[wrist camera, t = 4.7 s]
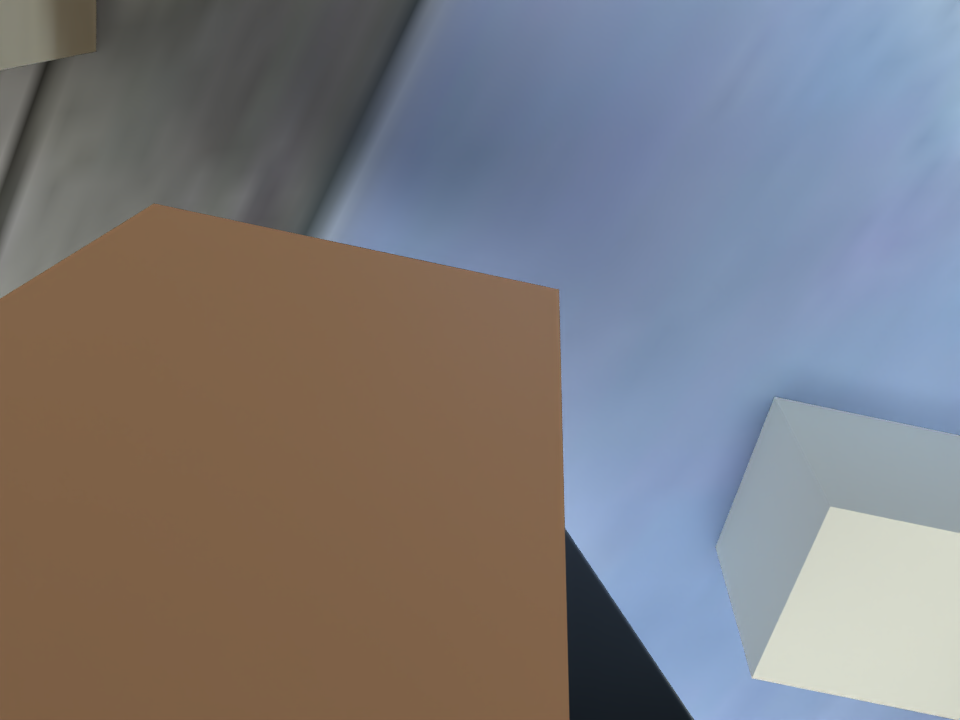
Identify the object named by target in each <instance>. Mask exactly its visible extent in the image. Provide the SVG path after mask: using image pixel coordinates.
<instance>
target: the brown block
mask: <svg viewBox="0 0 960 720" xmlns="http://www.w3.org/2000/svg"><path fill="white" fill-rule="evenodd" d="M0 720H569V683H568V641H567V600H566V559H565V517H564V476H563V435H562V393H561V352H560V311H559V289H554V288H550V287H545V286H540V285H535V284H531V283H526V282H521V281H517V280H512V279H507V278H502V277H498V276H493V275H488V274H484V273H479V272H474V271H469V270H465V269H460V268H455V267H451V266H446V265H441V264H436V263H432V262H427V261H422V260H418V259H413V258H408V257H404V256H399V255H394V254H389V253H385V252H380V251H375V250H371V249H366V248H361V247H356V246H352V245H347V244H342V243H338V242H333V241H328V240H323V239H319V238H314V237H309V236H305V235H300V234H295V233H290V232H286V231H281V230H276V229H272V228H267V227H262V226H257V225H253V224H248V223H243V222H239V221H234V220H229V219H224V218H220V217H215V216H210V215H206V214H201V213H196V212H192V211H187V210H182V209H177V208H173V207H168V206H163V205H159V204H152V205H151V206H149V207H148V208H146V209H144V210H143V211H141V212H140V213H138V214H136V215H135V216H133V217H131V218H130V219H128V220H127V221H125V222H123V223H122V224H120V225H119V226H117V227H115V228H114V229H112V230H110V231H109V232H107V233H106V234H104V235H102V236H101V237H99V238H98V239H96V240H94V241H93V242H91V243H89V244H88V245H86V246H85V247H83V248H81V249H80V250H78V251H77V252H75V253H73V254H72V255H70V256H68V257H67V258H65V259H64V260H62V261H60V262H59V263H57V264H56V265H54V266H52V267H51V268H49V269H47V270H46V271H44V272H43V273H41V274H39V275H38V276H36V277H35V278H33V279H31V280H30V281H28V282H26V283H25V284H23V285H22V286H20V287H18V288H17V289H15V290H14V291H12V292H10V293H9V294H7V295H6V296H4V297H2V298H1V299H0Z"/></svg>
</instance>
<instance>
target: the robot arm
mask: <svg viewBox="0 0 960 720" xmlns="http://www.w3.org/2000/svg"><path fill="white" fill-rule="evenodd" d="M565 559H566V600H567V641H568V683H569V720H694V719H693V718H692V716H691V715H690V713H689V712H688V710H687V709H686V707H685V706H684V704H683V703H682V701H681V700H680V698H679V697H678V695H677V694H676V692H675V691H674V689H673V688H672V687H671V685H670V684H669V682H668V681H667V679H666V678H665V676H664V675H663V673H662V672H661V670H660V669H659V667H658V666H657V664H656V663H655V661H654V660H653V658H652V657H651V655H650V654H649V652H648V651H647V649H646V648H645V646H644V645H643V643H642V642H641V640H640V639H639V637H638V636H637V634H636V633H635V632H634V630H633V629H632V627H631V626H630V624H629V623H628V621H627V620H626V618H625V617H624V615H623V614H622V612H621V611H620V609H619V608H618V606H617V605H616V603H615V602H614V600H613V599H612V597H611V596H610V594H609V593H608V591H607V590H606V588H605V587H604V585H603V584H602V582H601V581H600V579H599V578H598V577H597V575H596V574H595V572H594V571H593V569H592V568H591V566H590V565H589V563H588V562H587V560H586V559H585V557H584V556H583V554H582V553H581V551H580V550H579V548H578V547H577V545H576V544H575V542H574V541H573V539H572V538H571V536H570V535H569V533H568V532H567V530H566V529H565Z"/></svg>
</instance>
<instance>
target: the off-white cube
mask: <svg viewBox="0 0 960 720" xmlns="http://www.w3.org/2000/svg"><path fill="white" fill-rule="evenodd" d="M715 548H716V551H717V555H718V558H719V562H720V566H721V569H722V573H723V576H724V580H725V584H726V587H727V591H728V594H729V598H730V602H731V605H732V609H733V612H734V616H735V620H736V623H737V627H738V630H739V634H740V638H741V641H742V645H743V648H744V652H745V656H746V659H747V663H748V666H749V670H750V674H751V677H752V678H753V679H758V680H763V681H768V682H773V683H778V684H783V685H788V686H793V687H798V688H802V689H807V690H812V691H817V692H822V693H827V694H832V695H837V696H842V697H847V698H852V699H857V700H861V701H866V702H871V703H876V704H881V705H886V706H891V707H896V708H901V709H906V710H911V711H916V712H920V713H925V714H930V715H935V716H940V717H945V718H950V719H955V720H959V719H960V435H955V434H951V433H946V432H941V431H936V430H931V429H927V428H922V427H917V426H912V425H908V424H903V423H898V422H893V421H888V420H884V419H879V418H874V417H869V416H865V415H860V414H855V413H850V412H845V411H841V410H836V409H831V408H826V407H821V406H817V405H812V404H807V403H802V402H798V401H793V400H788V399H783V398H778V397H774V399H773V402H772V404H771V407H770V410H769V412H768V415H767V417H766V420H765V422H764V425H763V427H762V430H761V432H760V435H759V438H758V440H757V443H756V445H755V448H754V450H753V453H752V455H751V458H750V460H749V463H748V465H747V468H746V471H745V473H744V476H743V478H742V481H741V483H740V486H739V488H738V491H737V493H736V496H735V499H734V501H733V504H732V506H731V509H730V511H729V514H728V516H727V519H726V521H725V524H724V526H723V529H722V532H721V534H720V537H719V539H718V542H717V544H716V547H715Z"/></svg>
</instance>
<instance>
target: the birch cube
mask: <svg viewBox="0 0 960 720" xmlns="http://www.w3.org/2000/svg"><path fill="white" fill-rule="evenodd" d="M95 51H96V0H0V71H1V70H6V69H11V68H16V67H21V66H26V65H31V64H36V63H41V62H46V61H51V60H56V59H61V58H66V57H70V56H75V55H80V54H85V53H90V52H95Z"/></svg>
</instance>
